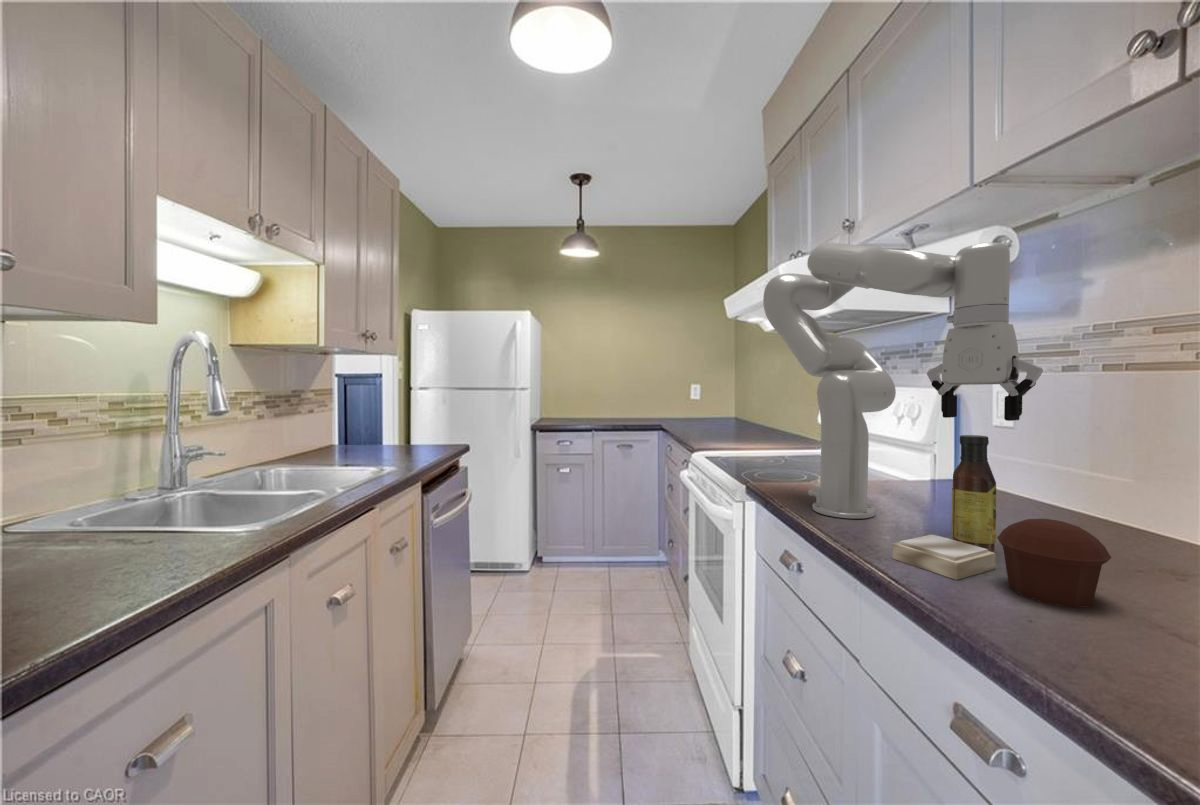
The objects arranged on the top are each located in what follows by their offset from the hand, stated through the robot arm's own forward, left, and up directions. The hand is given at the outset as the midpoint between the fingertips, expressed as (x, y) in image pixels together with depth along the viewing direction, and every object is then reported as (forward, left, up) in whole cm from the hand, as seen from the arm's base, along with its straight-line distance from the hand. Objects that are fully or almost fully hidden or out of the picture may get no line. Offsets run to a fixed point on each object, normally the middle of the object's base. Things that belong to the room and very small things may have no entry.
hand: (979, 418), depth 87 cm
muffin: (+15, -10, -23) cm, 29 cm away
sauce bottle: (0, 0, -23) cm, 23 cm away
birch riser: (+2, -12, -23) cm, 26 cm away
